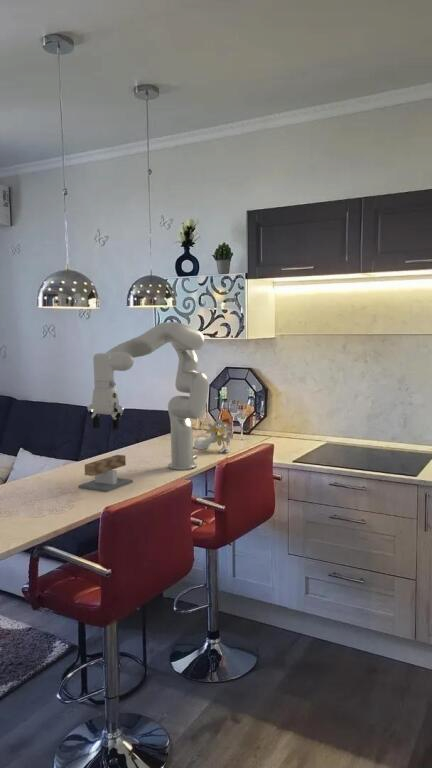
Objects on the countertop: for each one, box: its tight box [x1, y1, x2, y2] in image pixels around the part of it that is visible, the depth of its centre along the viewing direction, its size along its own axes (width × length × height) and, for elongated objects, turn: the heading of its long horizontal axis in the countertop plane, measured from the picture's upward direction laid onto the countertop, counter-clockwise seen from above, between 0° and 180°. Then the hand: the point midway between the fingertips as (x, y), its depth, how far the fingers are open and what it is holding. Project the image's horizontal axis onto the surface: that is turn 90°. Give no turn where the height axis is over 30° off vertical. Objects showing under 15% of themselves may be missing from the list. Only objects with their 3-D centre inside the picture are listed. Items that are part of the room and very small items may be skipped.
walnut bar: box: [84, 454, 127, 477], centre depth 232 cm, size 20×4×4 cm, turn 151°
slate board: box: [78, 469, 134, 493], centre depth 232 cm, size 16×14×6 cm
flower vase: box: [193, 417, 234, 453], centre depth 298 cm, size 13×18×25 cm
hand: (106, 428), depth 231 cm, fingers open, 9 cm apart
